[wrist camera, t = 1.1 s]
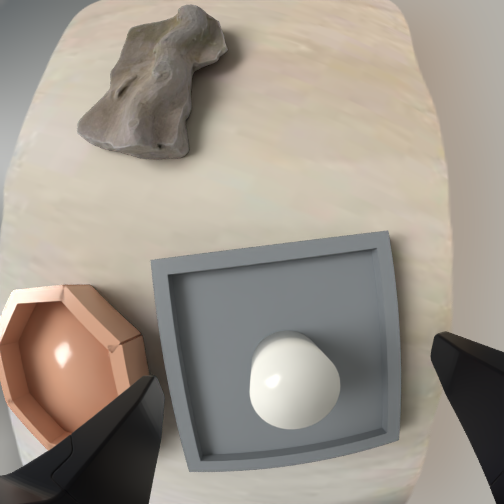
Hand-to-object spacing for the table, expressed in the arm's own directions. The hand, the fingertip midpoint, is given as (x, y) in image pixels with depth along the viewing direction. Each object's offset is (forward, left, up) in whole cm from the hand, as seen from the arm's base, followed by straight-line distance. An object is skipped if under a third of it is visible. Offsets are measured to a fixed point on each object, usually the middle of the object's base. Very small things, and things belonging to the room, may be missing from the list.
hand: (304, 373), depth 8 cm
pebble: (-3, 0, -10) cm, 10 cm away
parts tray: (-3, 0, -11) cm, 11 cm away
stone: (+20, +7, -12) cm, 24 cm away
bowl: (-3, +16, -11) cm, 20 cm away
